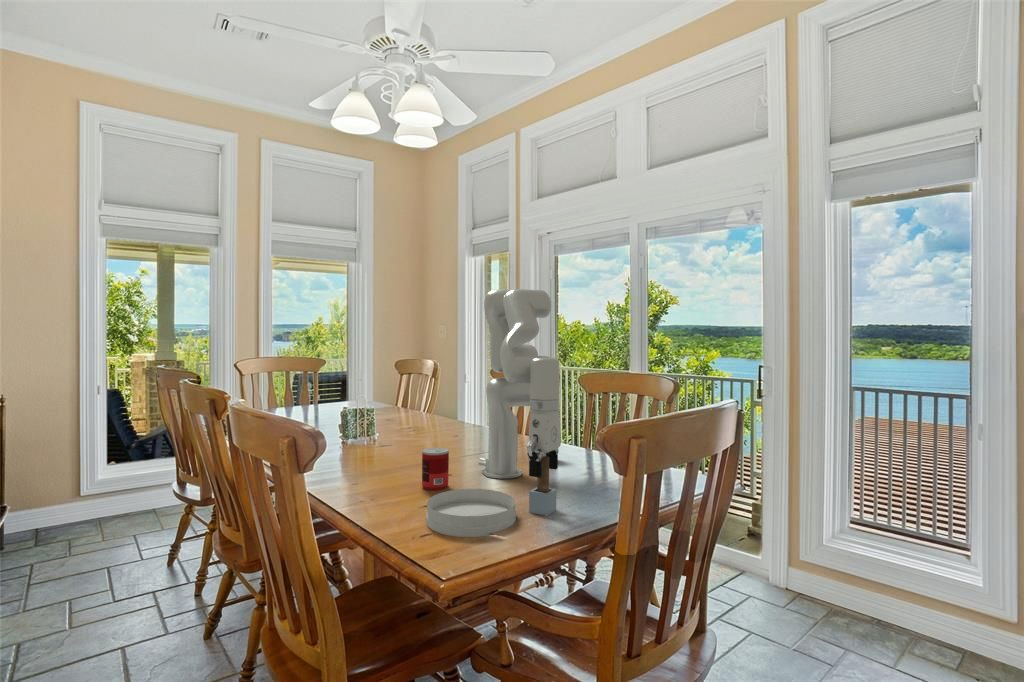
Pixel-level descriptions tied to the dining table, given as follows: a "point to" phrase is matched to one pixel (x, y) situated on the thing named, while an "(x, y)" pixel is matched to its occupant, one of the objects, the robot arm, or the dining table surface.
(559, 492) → the dining table surface
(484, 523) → the dish
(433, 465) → the canned food
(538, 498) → the cup
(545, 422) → the robot arm
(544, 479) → the dowel
